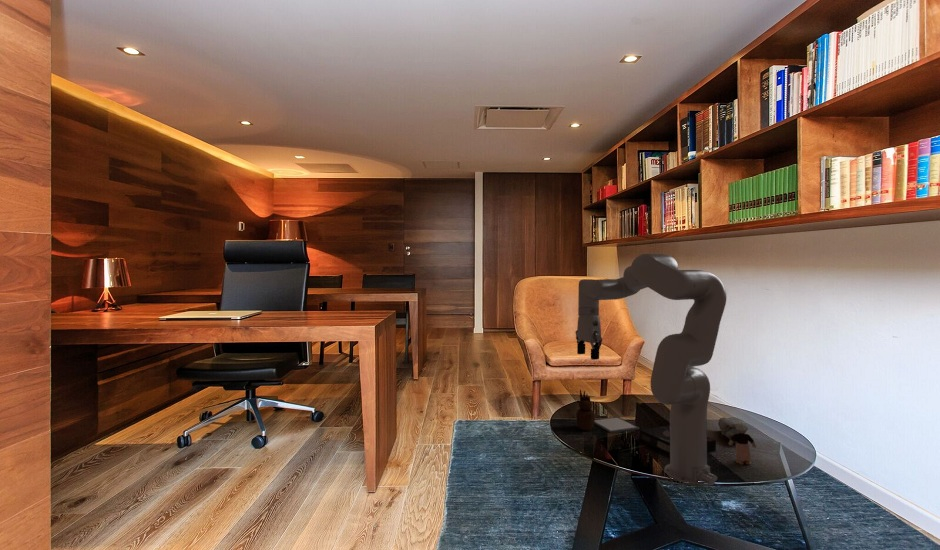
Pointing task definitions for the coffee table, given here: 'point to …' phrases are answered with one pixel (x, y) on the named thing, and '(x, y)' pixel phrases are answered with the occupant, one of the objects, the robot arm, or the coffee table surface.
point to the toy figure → (742, 443)
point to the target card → (615, 425)
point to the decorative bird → (727, 427)
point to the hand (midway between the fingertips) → (587, 356)
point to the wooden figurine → (585, 413)
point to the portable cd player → (666, 439)
